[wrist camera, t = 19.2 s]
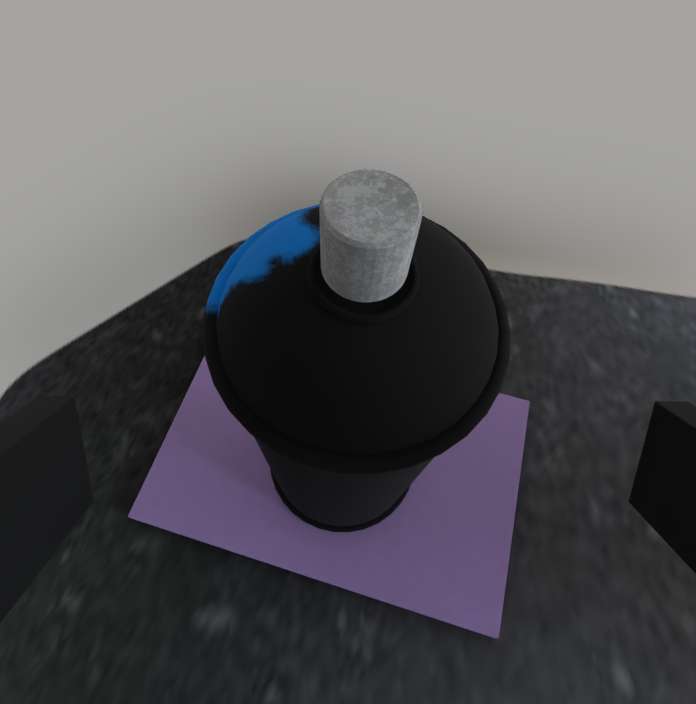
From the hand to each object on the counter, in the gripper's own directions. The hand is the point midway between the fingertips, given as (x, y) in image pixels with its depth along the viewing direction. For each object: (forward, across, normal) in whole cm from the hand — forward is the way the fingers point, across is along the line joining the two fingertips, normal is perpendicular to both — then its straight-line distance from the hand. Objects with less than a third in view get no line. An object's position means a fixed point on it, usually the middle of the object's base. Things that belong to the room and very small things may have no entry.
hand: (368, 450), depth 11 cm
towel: (+14, 0, -9) cm, 17 cm away
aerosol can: (+14, 0, -9) cm, 17 cm away
